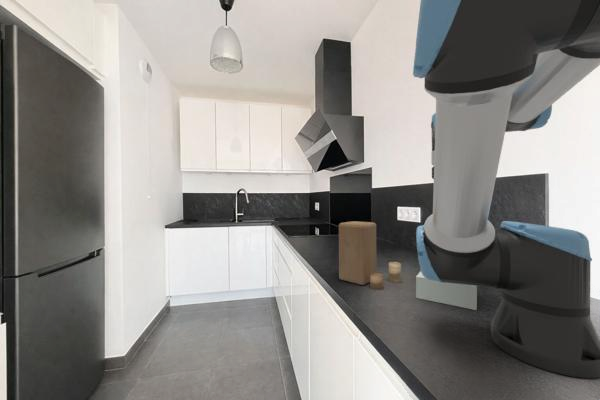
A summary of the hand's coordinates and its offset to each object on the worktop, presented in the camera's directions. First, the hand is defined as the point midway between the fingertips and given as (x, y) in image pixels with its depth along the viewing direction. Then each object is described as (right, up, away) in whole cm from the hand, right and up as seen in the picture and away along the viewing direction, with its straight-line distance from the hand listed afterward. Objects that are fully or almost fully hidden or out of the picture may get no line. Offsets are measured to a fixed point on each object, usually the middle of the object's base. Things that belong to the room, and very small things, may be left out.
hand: (446, 245), depth 72 cm
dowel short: (-18, -15, +7) cm, 25 cm away
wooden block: (-23, -15, +15) cm, 31 cm away
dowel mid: (-10, -15, +13) cm, 22 cm away
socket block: (0, -15, 0) cm, 15 cm away
